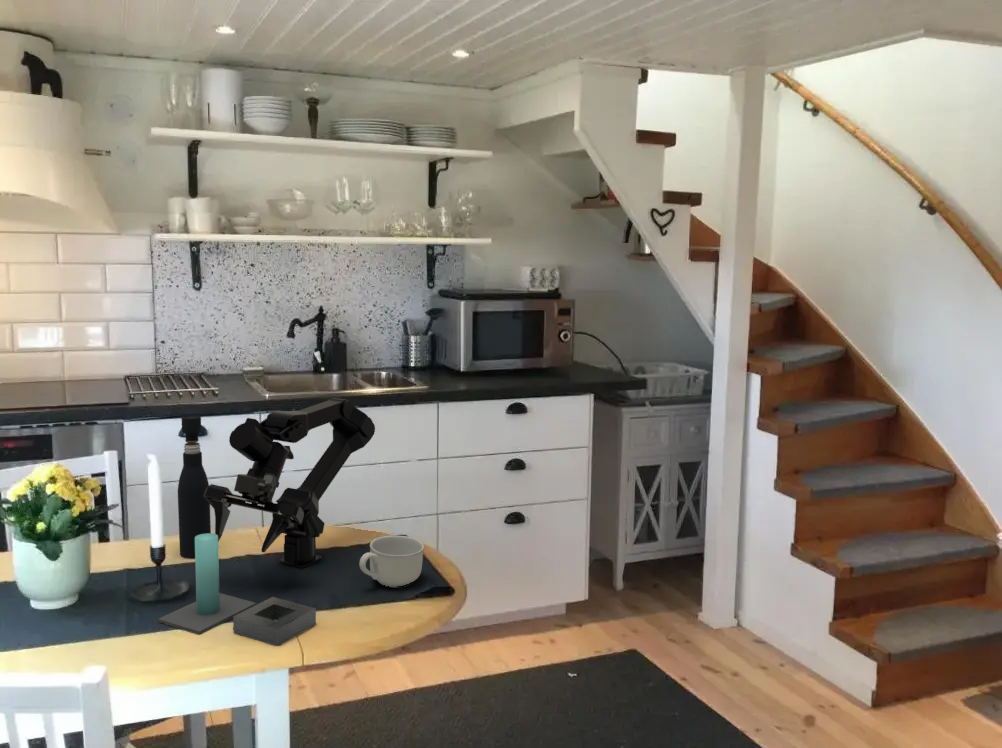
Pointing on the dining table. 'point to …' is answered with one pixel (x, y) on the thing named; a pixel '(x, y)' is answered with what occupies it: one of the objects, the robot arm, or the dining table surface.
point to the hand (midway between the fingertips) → (239, 546)
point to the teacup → (394, 560)
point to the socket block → (265, 629)
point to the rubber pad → (202, 623)
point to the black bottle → (192, 490)
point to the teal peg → (207, 574)
